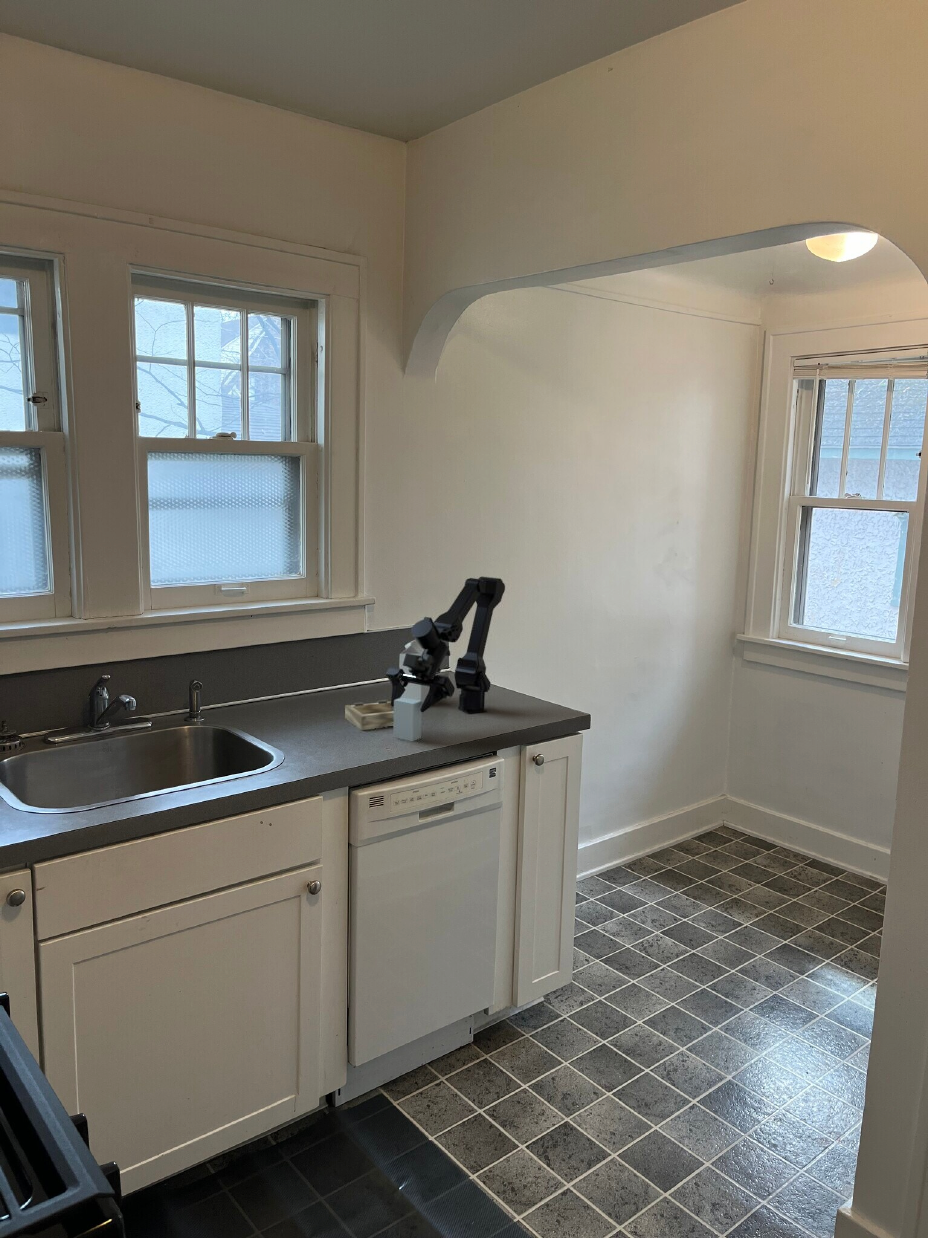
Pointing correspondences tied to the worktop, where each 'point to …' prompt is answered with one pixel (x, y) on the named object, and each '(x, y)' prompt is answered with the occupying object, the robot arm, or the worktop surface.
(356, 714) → the wooden tray
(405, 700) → the pale blue box
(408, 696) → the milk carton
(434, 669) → the robot arm
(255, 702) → the worktop surface
